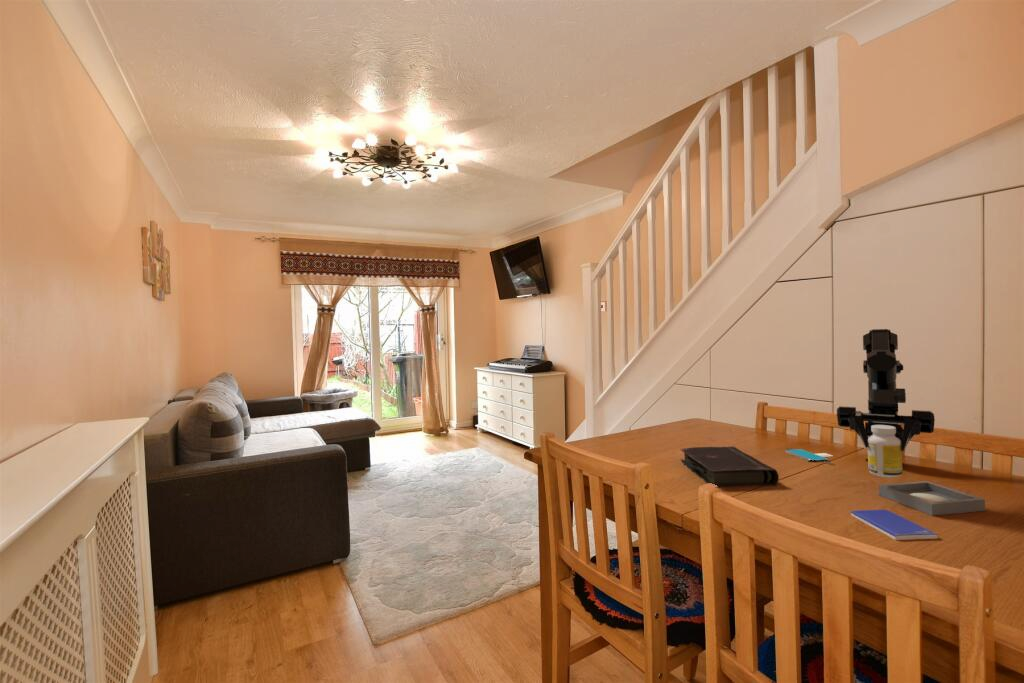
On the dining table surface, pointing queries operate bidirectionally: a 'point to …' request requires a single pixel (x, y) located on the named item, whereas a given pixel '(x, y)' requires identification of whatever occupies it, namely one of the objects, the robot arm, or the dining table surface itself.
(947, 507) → the holder tray
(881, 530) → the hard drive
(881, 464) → the pill bottle
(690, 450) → the diary
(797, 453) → the teal flat slab
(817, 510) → the dining table surface
